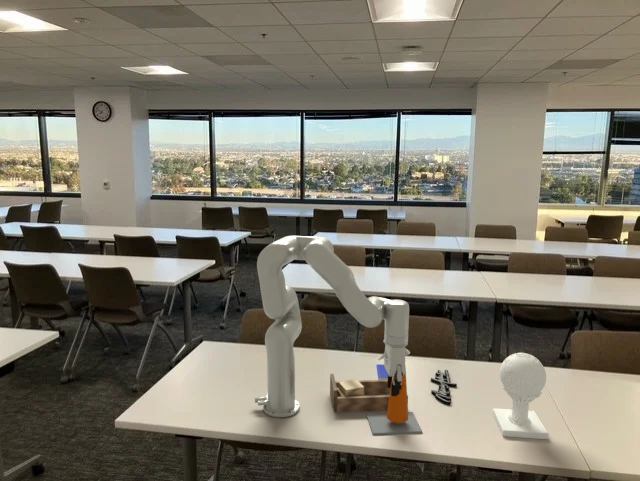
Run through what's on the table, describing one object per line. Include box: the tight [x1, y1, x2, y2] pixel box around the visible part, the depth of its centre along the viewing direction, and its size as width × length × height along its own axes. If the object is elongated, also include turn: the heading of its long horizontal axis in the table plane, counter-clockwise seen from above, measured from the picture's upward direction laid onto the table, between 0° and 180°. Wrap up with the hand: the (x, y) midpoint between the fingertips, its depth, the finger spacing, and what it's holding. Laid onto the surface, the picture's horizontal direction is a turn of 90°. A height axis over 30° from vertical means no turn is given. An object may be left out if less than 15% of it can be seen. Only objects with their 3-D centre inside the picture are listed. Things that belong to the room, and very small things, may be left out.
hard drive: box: [376, 364, 388, 380], centre depth 193 cm, size 2×8×12 cm
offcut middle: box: [337, 388, 365, 397], centre depth 169 cm, size 8×7×2 cm
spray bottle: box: [377, 339, 411, 423], centre depth 154 cm, size 7×11×26 cm, turn 65°
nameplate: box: [430, 369, 458, 406], centre depth 182 cm, size 27×2×10 cm
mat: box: [365, 411, 423, 436], centre depth 156 cm, size 16×12×1 cm
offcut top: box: [338, 378, 365, 397], centre depth 169 cm, size 7×7×2 cm
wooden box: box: [329, 373, 409, 413], centre depth 170 cm, size 26×13×8 cm, turn 94°
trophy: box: [492, 352, 549, 440], centre depth 153 cm, size 14×14×25 cm
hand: (394, 391), depth 154 cm, fingers closed on spray bottle, 4 cm apart
